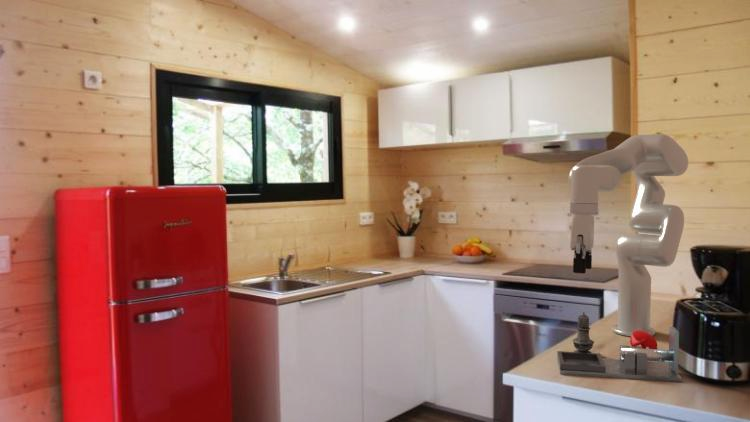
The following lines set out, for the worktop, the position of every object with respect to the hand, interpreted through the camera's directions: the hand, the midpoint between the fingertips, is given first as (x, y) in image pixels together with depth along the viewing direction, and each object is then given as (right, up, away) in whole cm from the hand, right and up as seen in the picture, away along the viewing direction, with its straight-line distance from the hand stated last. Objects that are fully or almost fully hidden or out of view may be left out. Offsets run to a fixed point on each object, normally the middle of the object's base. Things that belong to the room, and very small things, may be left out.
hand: (582, 270), depth 168 cm
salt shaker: (+1, -24, +3) cm, 24 cm away
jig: (+5, -25, -12) cm, 28 cm away
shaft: (+12, -23, -14) cm, 30 cm away
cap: (+19, -24, +4) cm, 30 cm away
